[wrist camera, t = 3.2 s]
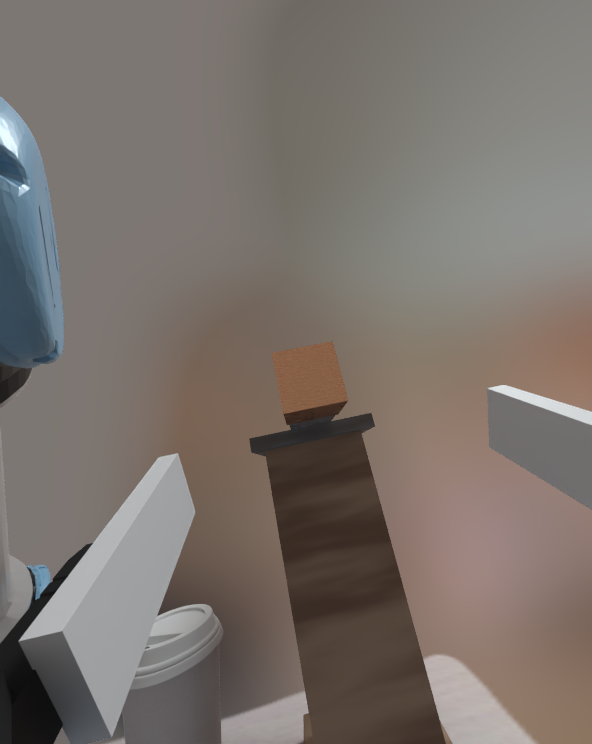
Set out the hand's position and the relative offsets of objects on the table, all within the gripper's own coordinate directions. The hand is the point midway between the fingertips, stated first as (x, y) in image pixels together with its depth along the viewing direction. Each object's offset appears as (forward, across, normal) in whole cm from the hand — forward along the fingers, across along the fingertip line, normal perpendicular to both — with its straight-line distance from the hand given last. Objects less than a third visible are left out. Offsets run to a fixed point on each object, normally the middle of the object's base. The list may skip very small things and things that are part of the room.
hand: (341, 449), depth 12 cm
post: (+4, 0, -34) cm, 34 cm away
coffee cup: (+5, -17, -35) cm, 39 cm away
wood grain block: (+15, 0, -6) cm, 17 cm away
